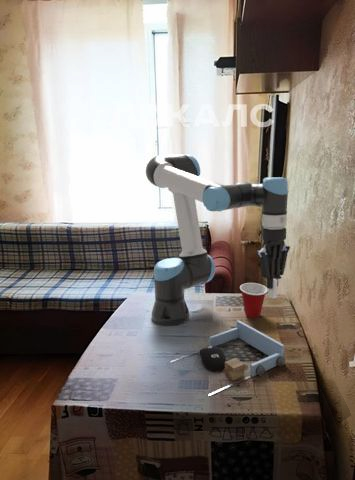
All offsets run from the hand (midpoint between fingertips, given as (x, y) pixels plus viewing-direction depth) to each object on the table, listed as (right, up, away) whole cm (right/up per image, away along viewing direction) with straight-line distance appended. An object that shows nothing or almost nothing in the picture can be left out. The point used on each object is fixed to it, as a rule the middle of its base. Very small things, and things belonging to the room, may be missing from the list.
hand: (272, 296), depth 122 cm
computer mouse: (-20, -20, -5) cm, 29 cm away
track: (-16, -20, -5) cm, 26 cm away
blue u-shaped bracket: (-9, -19, -1) cm, 21 cm away
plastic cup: (-1, -12, +27) cm, 29 cm away
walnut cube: (-14, -21, -12) cm, 28 cm away
